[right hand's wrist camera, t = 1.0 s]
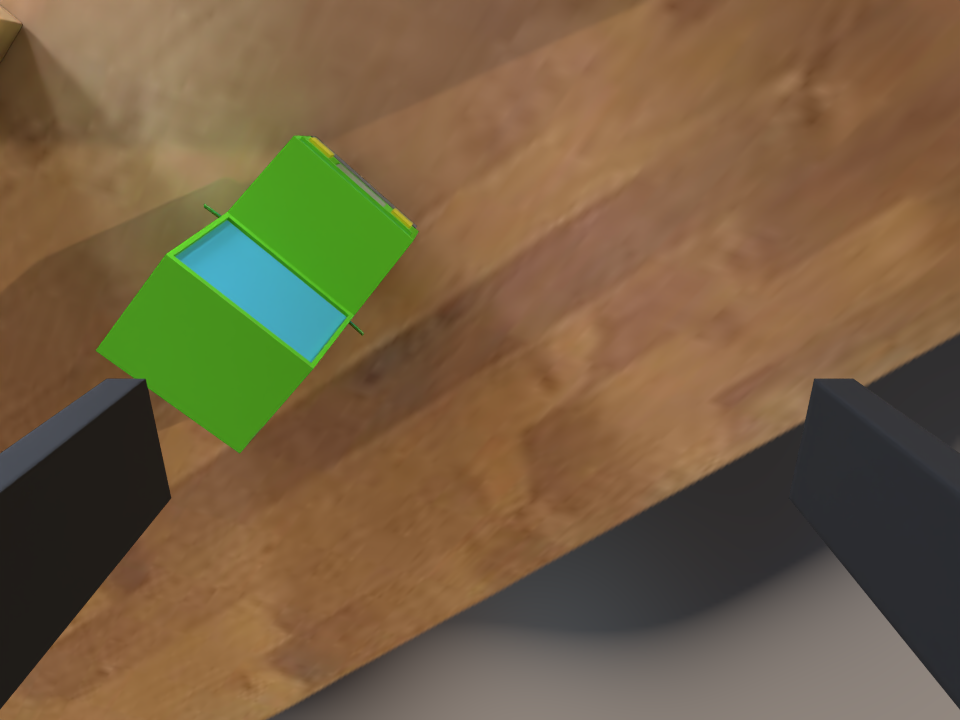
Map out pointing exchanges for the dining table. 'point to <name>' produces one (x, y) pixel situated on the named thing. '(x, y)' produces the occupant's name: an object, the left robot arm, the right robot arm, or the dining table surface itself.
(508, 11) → the dining table surface
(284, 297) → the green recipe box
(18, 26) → the wide beam
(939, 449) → the right robot arm
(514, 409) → the dining table surface
